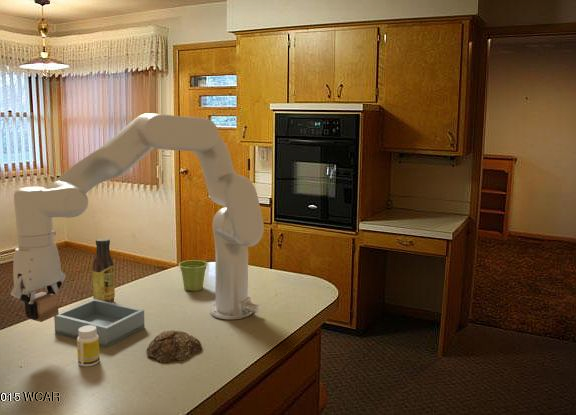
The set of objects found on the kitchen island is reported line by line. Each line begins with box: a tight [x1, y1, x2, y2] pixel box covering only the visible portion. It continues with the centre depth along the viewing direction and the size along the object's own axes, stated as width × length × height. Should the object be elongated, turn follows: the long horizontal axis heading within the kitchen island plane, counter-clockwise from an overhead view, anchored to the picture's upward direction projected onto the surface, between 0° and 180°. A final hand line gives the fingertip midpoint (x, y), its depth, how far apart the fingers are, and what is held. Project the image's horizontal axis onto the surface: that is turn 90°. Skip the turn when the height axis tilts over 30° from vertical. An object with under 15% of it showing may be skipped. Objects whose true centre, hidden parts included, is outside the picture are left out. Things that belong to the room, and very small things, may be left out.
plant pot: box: [178, 259, 208, 292], centre depth 177 cm, size 9×9×9 cm
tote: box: [53, 298, 145, 348], centre depth 142 cm, size 18×14×5 cm
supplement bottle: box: [76, 325, 101, 367], centre depth 124 cm, size 5×5×8 cm
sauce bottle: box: [92, 237, 116, 303], centre depth 161 cm, size 6×6×20 cm
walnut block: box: [25, 291, 60, 323], centre depth 126 cm, size 5×5×5 cm
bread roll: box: [145, 329, 203, 364], centre depth 131 cm, size 13×12×5 cm
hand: (42, 313), depth 127 cm, fingers closed on walnut block, 5 cm apart
